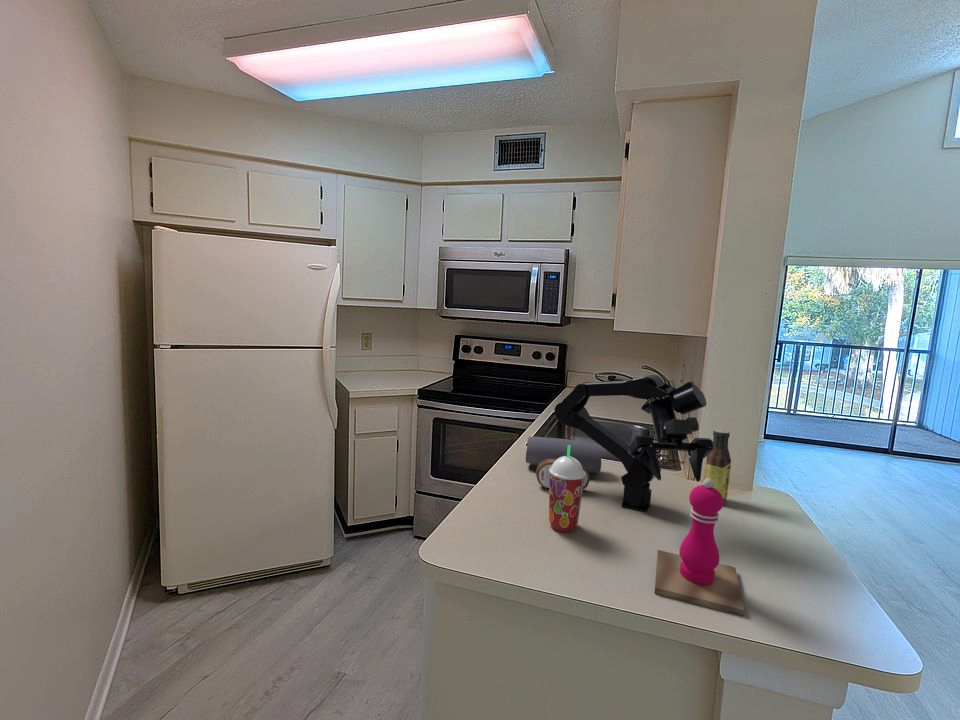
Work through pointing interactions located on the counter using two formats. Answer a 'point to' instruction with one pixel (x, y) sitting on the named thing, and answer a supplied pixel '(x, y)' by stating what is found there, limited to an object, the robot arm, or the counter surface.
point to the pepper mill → (701, 535)
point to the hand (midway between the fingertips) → (679, 480)
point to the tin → (543, 473)
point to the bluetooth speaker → (563, 451)
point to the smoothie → (565, 492)
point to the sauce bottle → (719, 463)
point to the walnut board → (699, 585)
